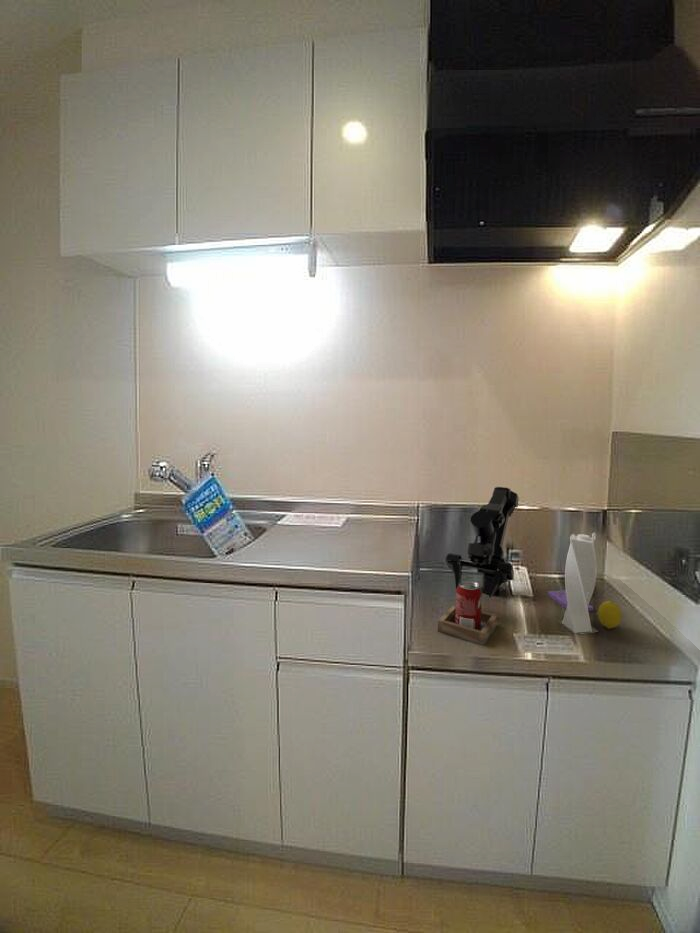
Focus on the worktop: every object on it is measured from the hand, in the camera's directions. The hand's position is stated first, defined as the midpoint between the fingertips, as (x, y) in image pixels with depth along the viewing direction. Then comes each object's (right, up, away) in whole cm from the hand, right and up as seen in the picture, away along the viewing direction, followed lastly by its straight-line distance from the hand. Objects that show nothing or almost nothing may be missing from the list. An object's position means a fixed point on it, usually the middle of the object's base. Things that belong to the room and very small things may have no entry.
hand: (473, 593), depth 120 cm
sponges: (+34, -8, +13) cm, 37 cm away
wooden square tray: (-2, -9, -3) cm, 10 cm away
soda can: (-2, -8, -3) cm, 9 cm away
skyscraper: (+28, -9, -3) cm, 29 cm away
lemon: (+37, -9, -3) cm, 38 cm away
